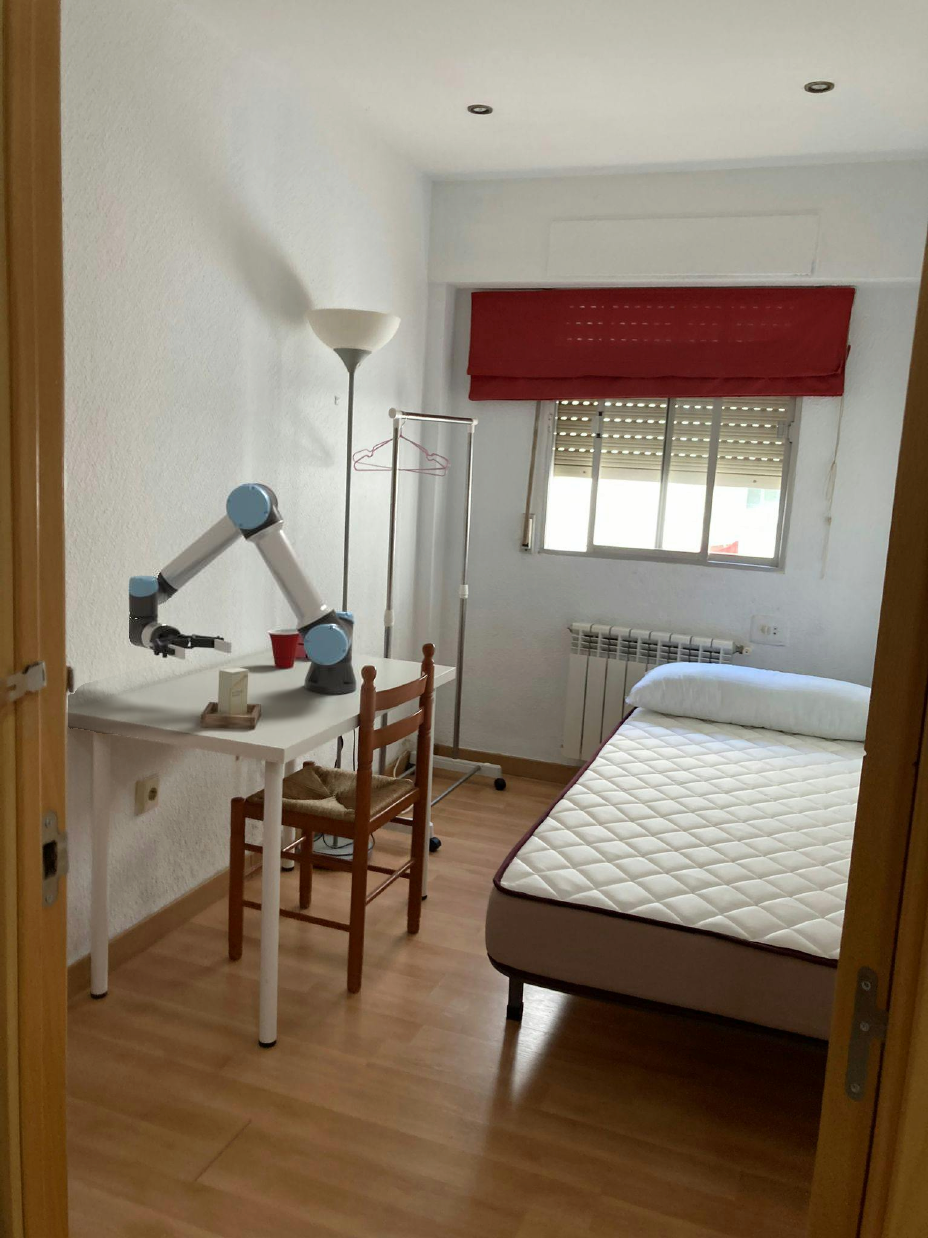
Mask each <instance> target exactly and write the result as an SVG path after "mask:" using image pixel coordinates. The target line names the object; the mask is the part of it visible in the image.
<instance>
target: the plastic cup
mask: <svg viewBox="0 0 928 1238" xmlns="http://www.w3.org/2000/svg"><path fill="white" fill-rule="evenodd" d="M267 633H268V634H269V637H270V642H271V648H272V650H271V651H272V656H273V662H274V667H275V668H277V667H279V668H278V669H291V667H292V668H294V665H295V660H296V658H295V657H296V652H297V647H298V642H299V638H300V635H299V633H298V631H297V629H295V628H278V629H277V628H276V629H271V630H268V631H267Z"/></svg>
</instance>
